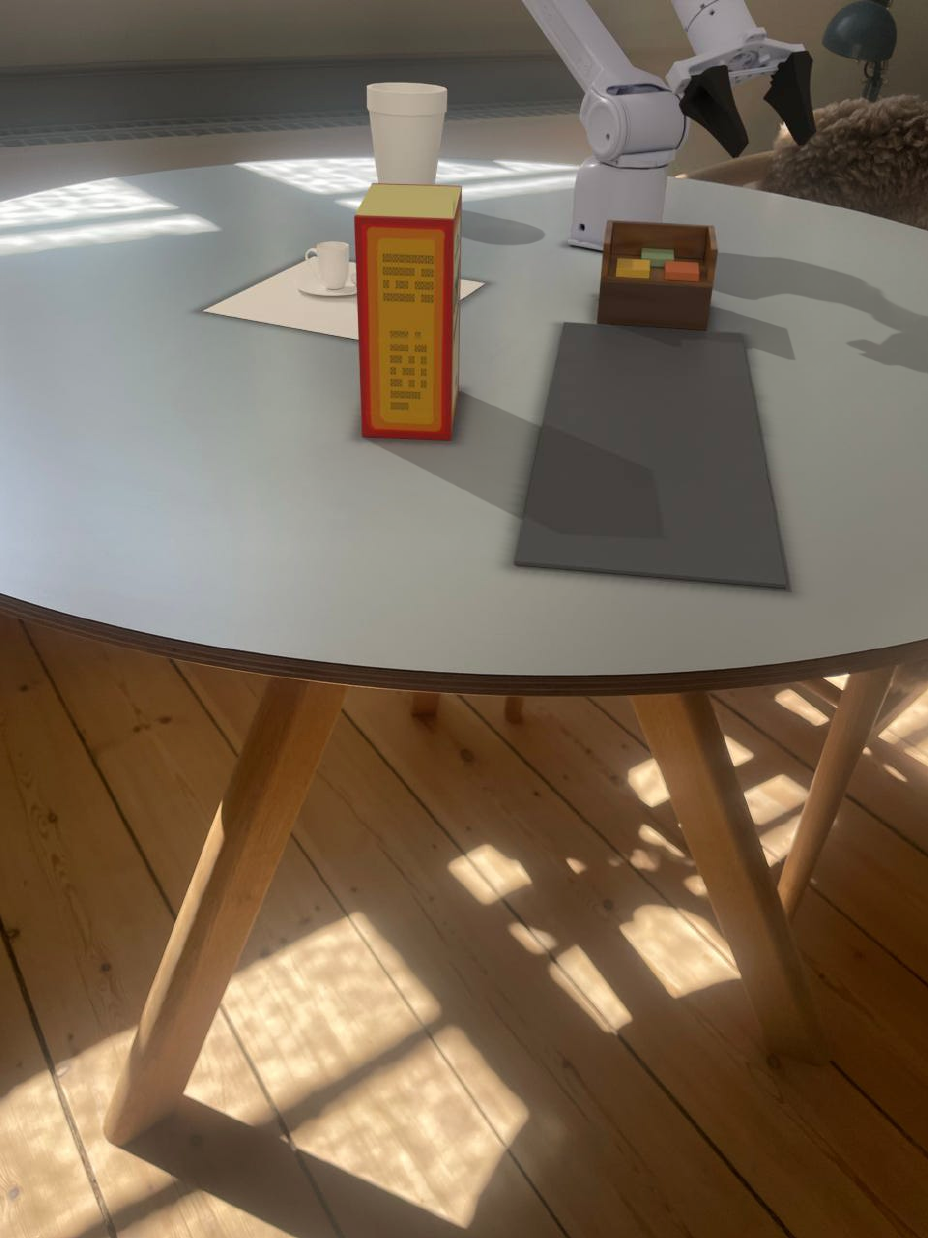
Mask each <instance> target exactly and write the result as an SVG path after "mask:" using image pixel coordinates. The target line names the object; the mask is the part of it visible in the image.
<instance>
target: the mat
mask: <svg viewBox="0 0 928 1238" xmlns="http://www.w3.org/2000/svg"><path fill="white" fill-rule="evenodd" d="M558 343H559V344H558V347H557V352H556V357H555V361H554V368H553V372H552V377H551V382H550V387H549V392H548V396H547V401H546V405H545V411H544V416H543V420H542V425H541V428H540V429H541V430H540V435H539V438H538V439H539V440H538V445H537V450H536V455H535V459H534V464H533V468H532V474H531V479H530V482H529V486H528V487H529V488H528V492H527V497H526V503H525V507H524V512H523V517H522V522H521V525H520V531H519V535H518V536H519V537H518V541H517V545H516V551H515V555H514V560H513V565H515V566H526V567H536V568H538V567H539V568H549V569H559V570H570V571H571V570H572V571H584V572H596V573H604V574H605V573H606V574H614V575H615V574H616V575H627V576H629V575H630V576H639V577H651V578H661V579H663V578H664V579H673V580H683V581H684V580H686V581H696V582H697V581H698V582H709V583H721V584H730V585H742V586H755V587H765V588H775V589H776V588H777V589H787V586H788V585H787V579H786V574H785V573H786V572H785V567H784V563H783V556H782V552H781V545H780V540H779V535H778V529H777V524H776V518H775V512H774V507H773V501H772V496H771V490H770V484H769V480H768V474H767V473H768V472H767V467H766V463H765V458H764V457H765V456H764V451H763V446H762V440H761V435H760V430H759V424H758V423H759V422H758V418H757V413H756V407H755V401H754V395H753V391H752V385H751V378H750V374H749V369H748V363H747V358H746V351H745V346H744V340H743V334H742V333H741V332H727V331H711V330H710V331H709V330H696V329H680V328H664V327H648V326H632V325H617V324H601V323H585V322H584V323H583V322H569V321H563V324H562V329H561V333H560V338H559V342H558Z"/></svg>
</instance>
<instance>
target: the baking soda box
mask: <svg viewBox="0 0 928 1238" xmlns="http://www.w3.org/2000/svg"><path fill="white" fill-rule="evenodd" d="M462 215H463V185H451V184H450V185H449V184H448V185H447V184H446V185H445V184H435V185H419V184H387V183H378V182H372V183H371V184H370V186H369V188H368V190H367V191H366V194H365V196H364V198H363V199H362V201H361V203H360V205H359V207H358V209H357V210H356V212H355V214H354V216H353V224H354V225H353V227H354V229H353V231H354V254H355V257H354V259H355V263H356V286H357V313H358V362H359V363H358V365H359V366H358V367H359V389H360V390H359V392H360V394H359V395H360V419H361V420H360V421H361V437H362V438H381V439H382V438H383V439H405V440H406V439H408V440H431V441H452V436H453V432H454V431H453V430H454V425H455V418H456V417H455V416H456V412H457V405H458V400H459V393H460V356H461V355H460V353H461V352H460V350H461V348H460V347H461V345H460V343H461V341H460V340H461V300H460V291H461V279H462V221H463V220H462V218H463V217H462Z"/></svg>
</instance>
